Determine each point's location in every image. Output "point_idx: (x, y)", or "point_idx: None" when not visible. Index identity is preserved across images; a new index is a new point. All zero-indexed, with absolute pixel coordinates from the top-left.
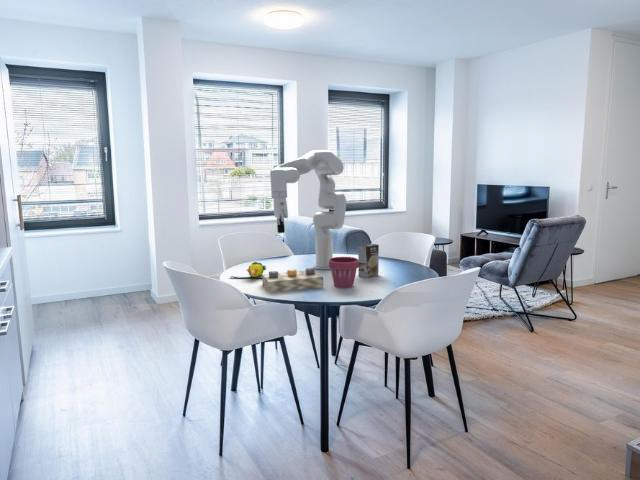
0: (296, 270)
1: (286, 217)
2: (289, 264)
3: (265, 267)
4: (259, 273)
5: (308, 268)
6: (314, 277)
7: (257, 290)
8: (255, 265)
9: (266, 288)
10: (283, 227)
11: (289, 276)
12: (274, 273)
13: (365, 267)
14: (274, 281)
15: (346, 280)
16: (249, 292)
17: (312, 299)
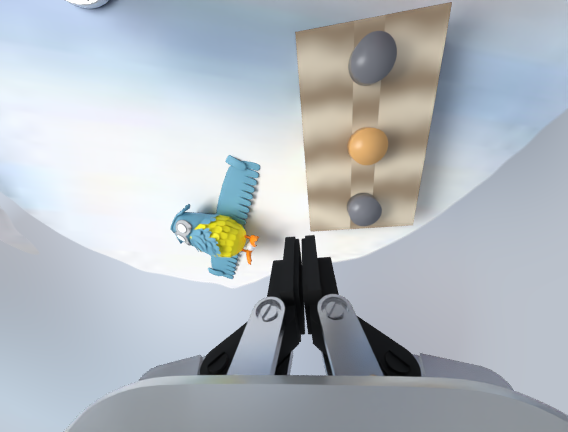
0: (377, 129)
1: (411, 393)
2: (43, 109)
3: (186, 208)
4: (240, 225)
5: (361, 65)
6: (442, 53)
7: (365, 234)
8: (229, 246)
9: None
10: (319, 272)
11: None
12: (381, 211)
13: None
14: (415, 209)
15: None
16: (375, 250)
17: (559, 99)
